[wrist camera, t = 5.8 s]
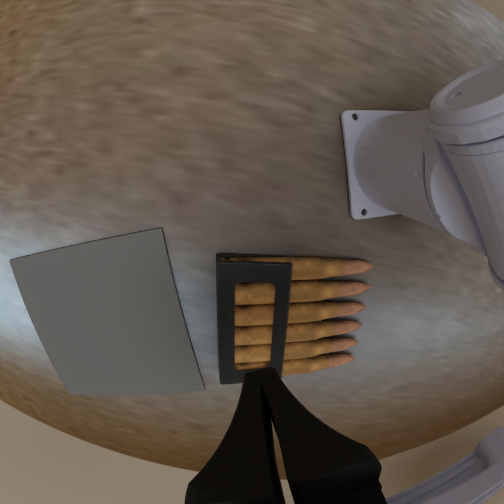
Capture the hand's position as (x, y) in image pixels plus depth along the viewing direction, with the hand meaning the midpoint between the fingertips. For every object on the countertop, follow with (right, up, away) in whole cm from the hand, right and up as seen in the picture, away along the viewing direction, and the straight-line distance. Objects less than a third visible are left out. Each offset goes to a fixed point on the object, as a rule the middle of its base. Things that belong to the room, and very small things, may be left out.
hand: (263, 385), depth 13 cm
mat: (-13, 0, +10) cm, 16 cm away
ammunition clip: (-3, +1, +9) cm, 10 cm away
